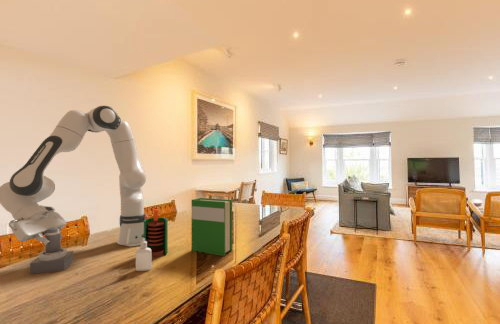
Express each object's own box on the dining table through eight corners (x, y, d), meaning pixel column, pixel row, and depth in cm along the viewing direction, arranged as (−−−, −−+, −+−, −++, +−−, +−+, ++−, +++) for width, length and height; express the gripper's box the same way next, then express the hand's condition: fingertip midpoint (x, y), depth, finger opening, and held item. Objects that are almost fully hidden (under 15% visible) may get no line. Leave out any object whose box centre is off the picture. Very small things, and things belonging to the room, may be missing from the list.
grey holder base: (73, 260, 113) (73, 245, 113) (64, 270, 102) (64, 253, 102) (42, 263, 109) (42, 248, 109) (29, 274, 99) (29, 257, 99)
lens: (62, 251, 109) (62, 226, 109) (58, 255, 104) (58, 229, 104) (48, 252, 107) (48, 227, 107) (42, 257, 102) (42, 230, 102)
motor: (144, 259, 114) (144, 212, 114) (142, 252, 122) (142, 209, 122) (169, 255, 119) (168, 210, 119) (165, 249, 126) (165, 207, 126)
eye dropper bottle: (145, 272, 100) (145, 240, 100) (133, 270, 102) (133, 239, 102) (153, 268, 104) (153, 237, 104) (142, 266, 106) (142, 236, 106)
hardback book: (232, 250, 124) (232, 199, 124) (224, 256, 117) (224, 201, 117) (200, 246, 131) (200, 197, 131) (191, 250, 124) (191, 199, 124)
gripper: (11, 215, 96) (38, 243, 95) (56, 206, 116) (77, 228, 116) (0, 228, 96) (26, 255, 95) (46, 216, 116) (67, 238, 116)
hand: (54, 240), depth 106 cm, fingers closed on lens, 5 cm apart
